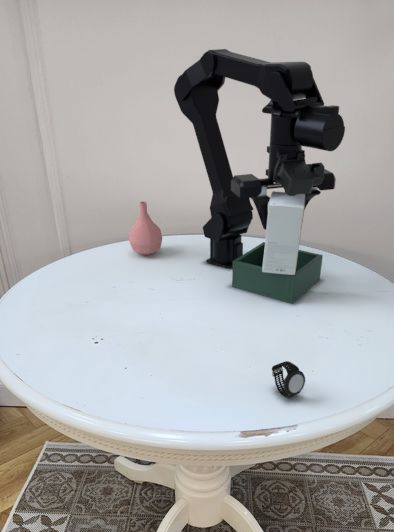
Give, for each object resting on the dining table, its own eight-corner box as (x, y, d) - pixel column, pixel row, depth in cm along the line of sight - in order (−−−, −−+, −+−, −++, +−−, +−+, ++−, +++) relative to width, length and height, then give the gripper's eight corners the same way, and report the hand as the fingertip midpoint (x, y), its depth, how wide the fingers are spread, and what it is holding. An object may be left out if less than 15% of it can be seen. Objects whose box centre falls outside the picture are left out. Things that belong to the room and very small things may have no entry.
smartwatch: (279, 405, 76) (281, 376, 73) (268, 384, 80) (270, 356, 77) (307, 401, 76) (310, 372, 74) (295, 380, 81) (297, 353, 78)
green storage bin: (231, 286, 108) (232, 261, 105) (262, 265, 117) (263, 241, 114) (292, 303, 102) (294, 276, 99) (319, 280, 110) (322, 255, 107)
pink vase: (154, 244, 129) (151, 195, 122) (169, 255, 123) (166, 203, 117) (124, 251, 126) (120, 201, 119) (138, 262, 120) (134, 210, 114)
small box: (295, 276, 99) (304, 207, 92) (261, 272, 100) (267, 204, 93) (296, 258, 106) (305, 193, 98) (264, 255, 106) (271, 190, 99)
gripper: (252, 156, 86) (249, 247, 94) (356, 147, 90) (344, 236, 98) (230, 143, 95) (229, 227, 103) (325, 135, 99) (317, 217, 107)
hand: (280, 227), depth 103 cm, fingers closed on small box, 6 cm apart
